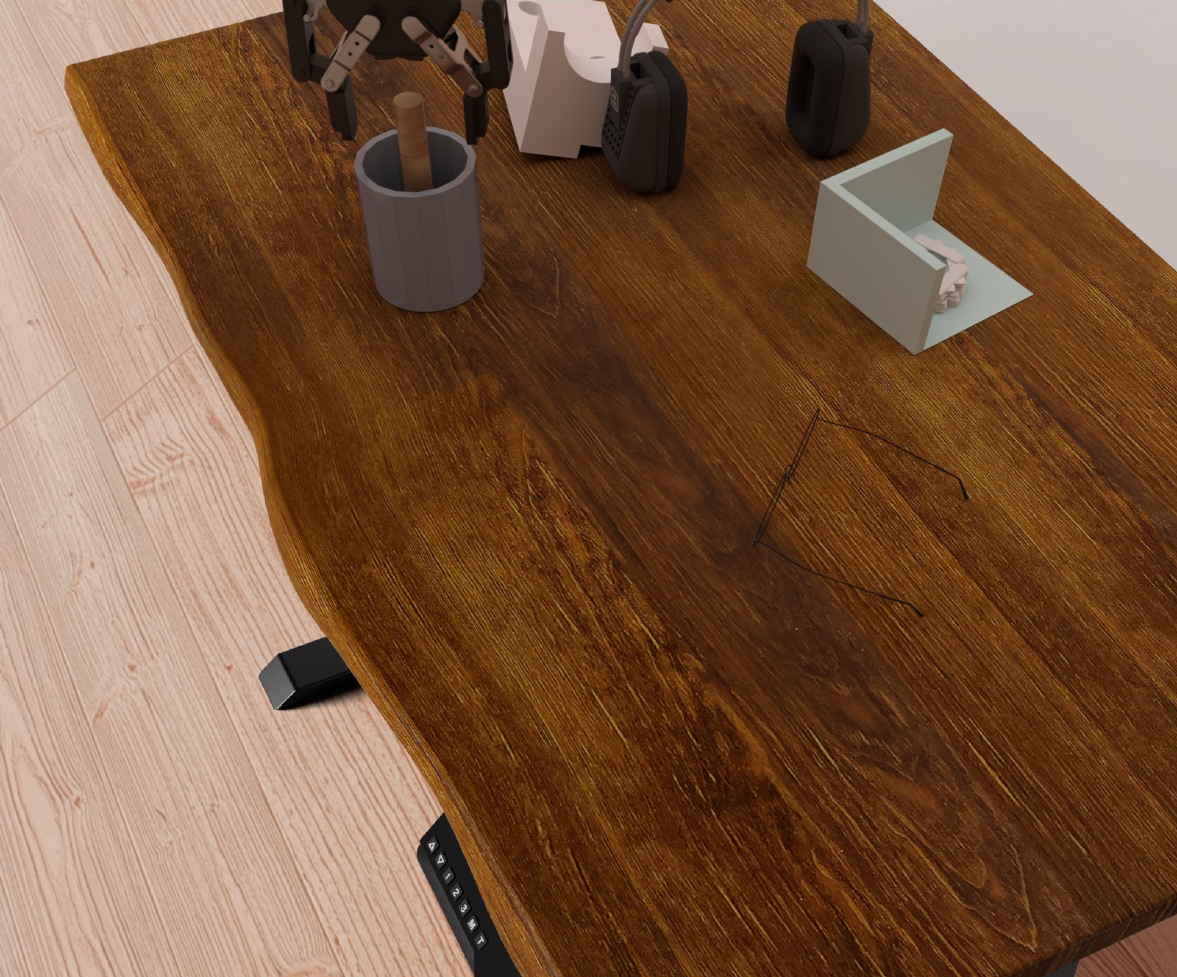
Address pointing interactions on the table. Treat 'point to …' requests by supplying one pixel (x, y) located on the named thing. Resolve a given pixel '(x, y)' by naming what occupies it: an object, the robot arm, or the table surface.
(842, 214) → the l-shaped corner panel
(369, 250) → the grey cup
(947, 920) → the table surface
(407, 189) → the cylinder with wooden handle
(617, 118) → the headphones
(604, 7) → the white notched block
